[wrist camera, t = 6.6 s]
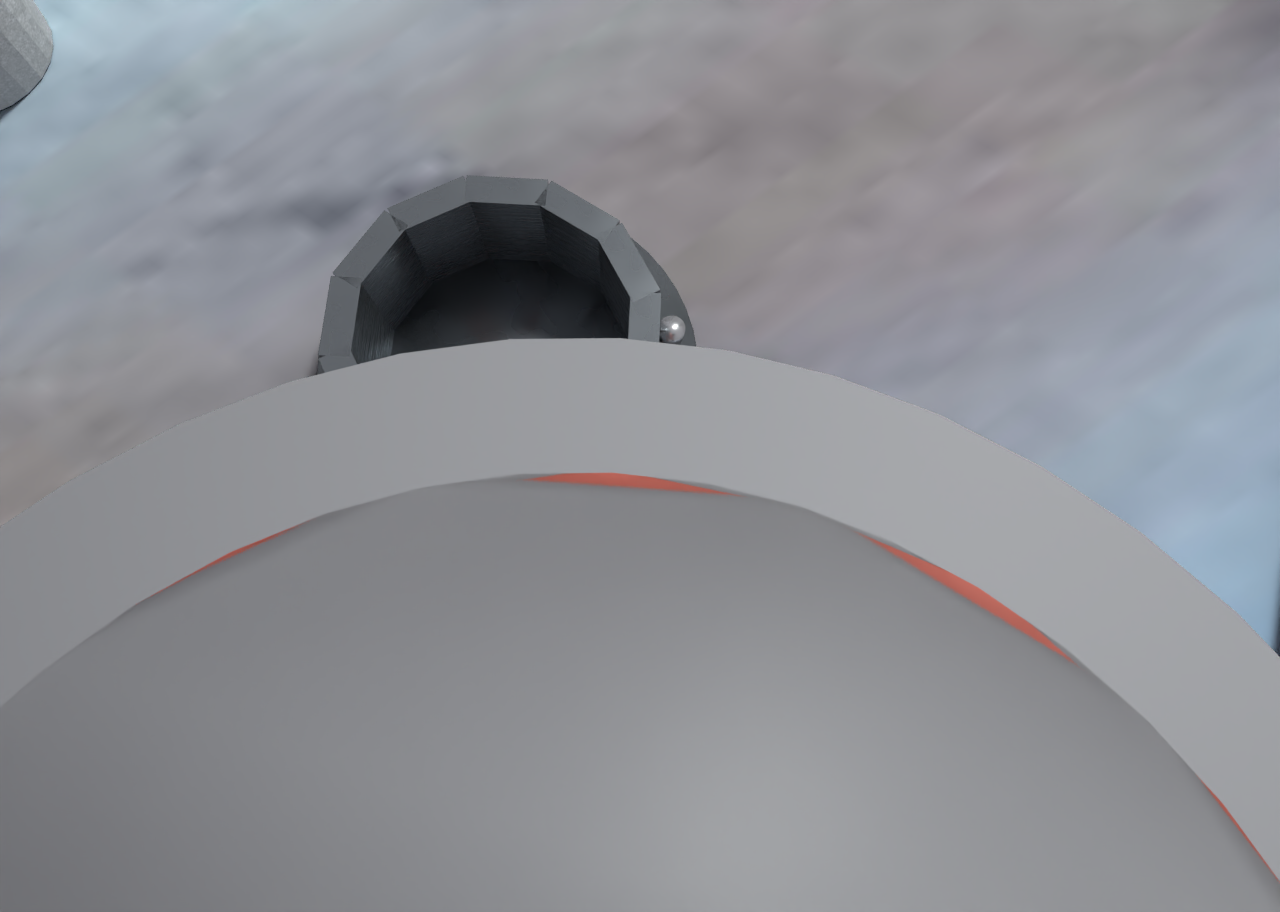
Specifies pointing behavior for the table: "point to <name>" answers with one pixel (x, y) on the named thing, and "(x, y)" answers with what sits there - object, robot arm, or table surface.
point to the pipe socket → (494, 275)
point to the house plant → (22, 49)
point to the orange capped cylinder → (615, 659)
